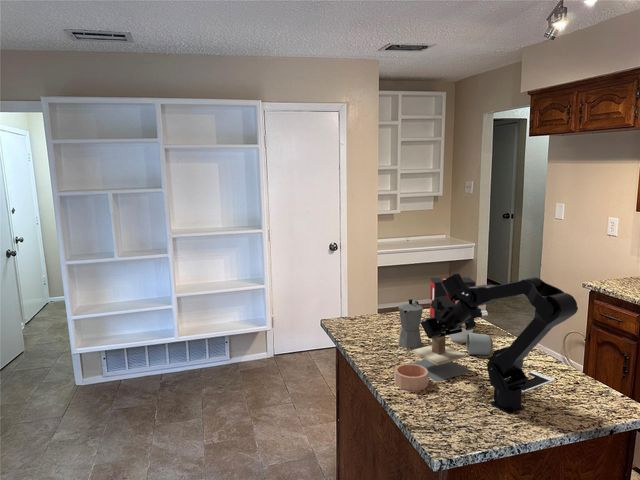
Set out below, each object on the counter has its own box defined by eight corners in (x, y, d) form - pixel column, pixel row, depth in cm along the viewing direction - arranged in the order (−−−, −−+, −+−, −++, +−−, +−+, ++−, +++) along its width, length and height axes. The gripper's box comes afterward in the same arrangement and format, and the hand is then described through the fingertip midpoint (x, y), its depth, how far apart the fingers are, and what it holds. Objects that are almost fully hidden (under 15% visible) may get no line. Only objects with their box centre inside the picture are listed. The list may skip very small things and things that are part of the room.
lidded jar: (475, 345, 169) (476, 321, 168) (446, 344, 171) (446, 320, 170) (470, 335, 180) (471, 312, 178) (443, 334, 181) (443, 312, 180)
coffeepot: (416, 353, 162) (417, 305, 160) (392, 349, 167) (392, 302, 165) (428, 339, 176) (429, 295, 173) (405, 336, 180) (406, 292, 178)
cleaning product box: (467, 322, 196) (469, 277, 193) (473, 328, 187) (475, 282, 185) (429, 322, 197) (430, 277, 194) (434, 329, 188) (435, 282, 185)
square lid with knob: (465, 357, 146) (466, 326, 145) (437, 365, 140) (438, 333, 139) (439, 345, 156) (439, 316, 155) (412, 352, 151) (412, 322, 149)
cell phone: (555, 381, 139) (555, 379, 139) (521, 394, 132) (521, 392, 132) (533, 372, 146) (533, 370, 146) (499, 384, 138) (499, 382, 138)
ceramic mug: (493, 358, 156) (493, 337, 155) (468, 357, 158) (469, 336, 157) (486, 348, 167) (487, 328, 166) (464, 347, 168) (464, 327, 167)
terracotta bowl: (434, 386, 136) (435, 372, 136) (409, 395, 132) (409, 380, 131) (413, 374, 145) (413, 361, 144) (388, 381, 140) (388, 368, 140)
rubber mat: (471, 372, 146) (471, 370, 146) (437, 383, 139) (437, 381, 139) (439, 356, 159) (439, 355, 159) (406, 365, 152) (406, 364, 152)
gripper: (469, 286, 146) (445, 311, 157) (424, 294, 138) (402, 319, 149) (488, 316, 140) (461, 339, 151) (442, 326, 132) (417, 349, 143)
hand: (435, 336), depth 149 cm, fingers closed on square lid with knob, 3 cm apart
